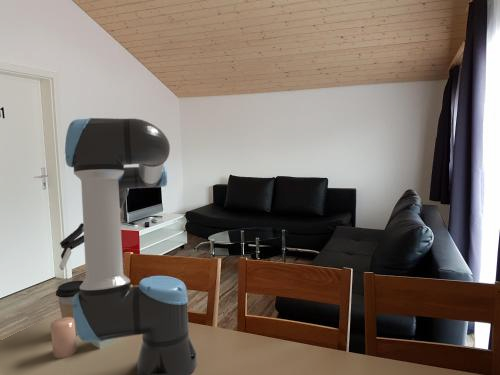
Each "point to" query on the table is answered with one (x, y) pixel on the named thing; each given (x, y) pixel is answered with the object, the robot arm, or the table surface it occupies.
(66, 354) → the peach rounded cylinder
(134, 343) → the table surface
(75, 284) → the coffee cup
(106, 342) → the sage tin
